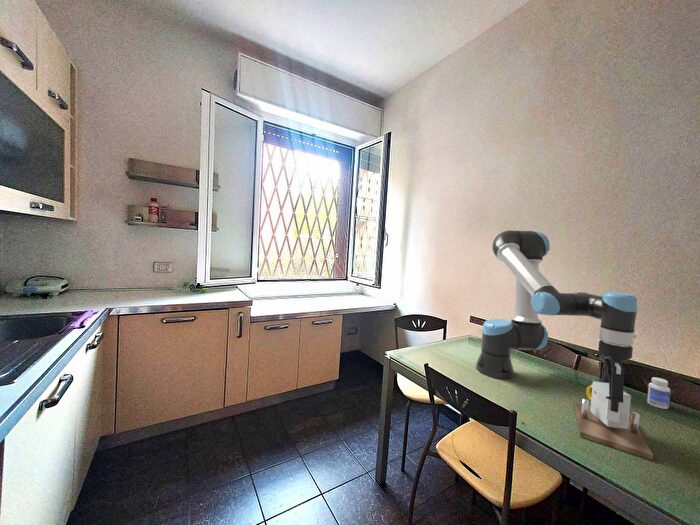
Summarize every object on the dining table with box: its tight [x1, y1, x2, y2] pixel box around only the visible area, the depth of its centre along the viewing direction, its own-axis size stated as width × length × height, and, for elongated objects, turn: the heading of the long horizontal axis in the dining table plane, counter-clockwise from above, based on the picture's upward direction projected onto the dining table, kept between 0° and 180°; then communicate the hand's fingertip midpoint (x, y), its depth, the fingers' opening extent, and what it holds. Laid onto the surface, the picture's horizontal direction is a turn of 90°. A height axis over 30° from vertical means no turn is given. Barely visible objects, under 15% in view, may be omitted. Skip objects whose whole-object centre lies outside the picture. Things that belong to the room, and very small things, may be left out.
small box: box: [590, 380, 632, 429], centre depth 86 cm, size 8×6×10 cm
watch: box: [585, 384, 592, 401], centre depth 102 cm, size 6×3×6 cm, turn 2°
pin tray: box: [573, 398, 654, 461], centre depth 86 cm, size 15×20×8 cm
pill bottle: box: [646, 376, 671, 410], centre depth 101 cm, size 5×5×10 cm
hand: (608, 412), depth 86 cm, fingers closed on small box, 9 cm apart
